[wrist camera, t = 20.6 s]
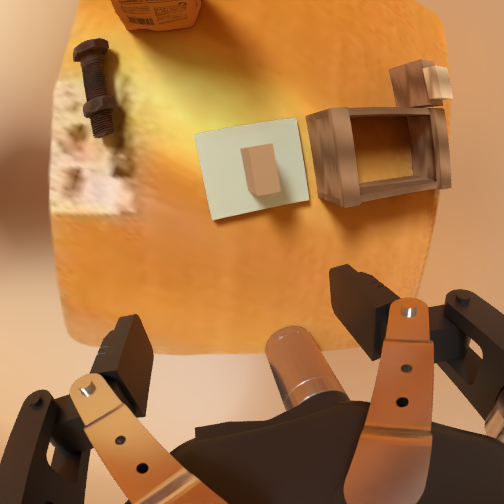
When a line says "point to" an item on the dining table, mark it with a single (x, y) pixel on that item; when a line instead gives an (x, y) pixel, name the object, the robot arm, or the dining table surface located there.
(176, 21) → the coffee package
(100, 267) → the dining table surface
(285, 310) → the dining table surface
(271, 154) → the lid
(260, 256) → the dining table surface
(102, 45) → the bolt
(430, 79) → the tan wooden block
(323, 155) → the wooden box frame
